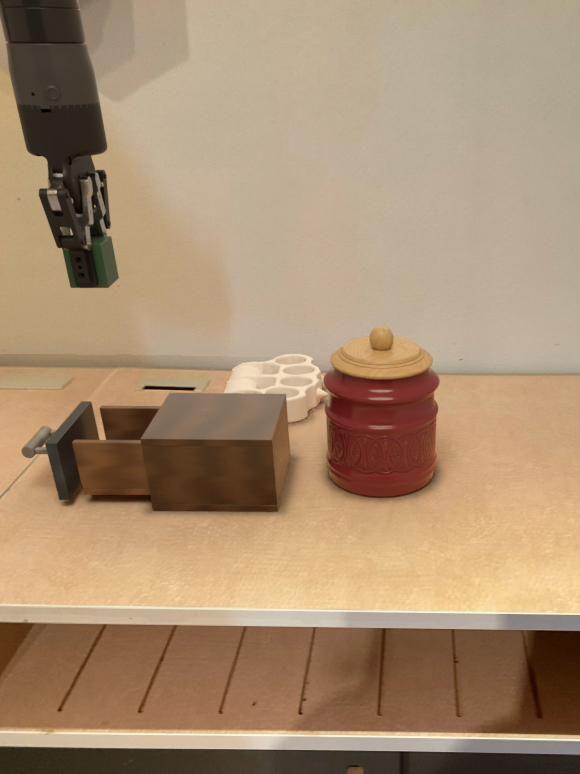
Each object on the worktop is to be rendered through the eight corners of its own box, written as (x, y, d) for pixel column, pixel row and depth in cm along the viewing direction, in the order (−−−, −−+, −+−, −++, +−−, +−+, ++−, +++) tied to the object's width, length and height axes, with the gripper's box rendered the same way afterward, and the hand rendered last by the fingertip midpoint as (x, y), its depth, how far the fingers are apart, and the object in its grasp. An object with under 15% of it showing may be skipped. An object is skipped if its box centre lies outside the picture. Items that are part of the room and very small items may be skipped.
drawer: (20, 500, 86) (4, 443, 82) (57, 453, 96) (44, 400, 92) (174, 501, 86) (165, 444, 83) (196, 454, 96) (189, 402, 92)
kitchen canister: (382, 511, 87) (383, 355, 77) (304, 473, 94) (295, 326, 85) (458, 472, 95) (466, 326, 85) (380, 439, 102) (380, 302, 93)
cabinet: (153, 510, 86) (139, 438, 82) (179, 458, 97) (169, 392, 92) (277, 511, 86) (271, 439, 82) (290, 459, 97) (286, 393, 92)
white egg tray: (237, 374, 121) (333, 375, 121) (217, 423, 106) (327, 423, 106) (235, 353, 119) (332, 353, 120) (214, 399, 104) (326, 399, 104)
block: (70, 288, 83) (60, 244, 81) (82, 278, 87) (73, 236, 84) (108, 288, 83) (100, 244, 81) (119, 278, 87) (111, 236, 84)
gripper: (44, 93, 82) (80, 265, 91) (-13, 103, 70) (34, 300, 79) (117, 94, 82) (145, 265, 91) (73, 104, 70) (110, 300, 79)
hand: (94, 280), depth 85 cm, fingers closed on block, 4 cm apart
